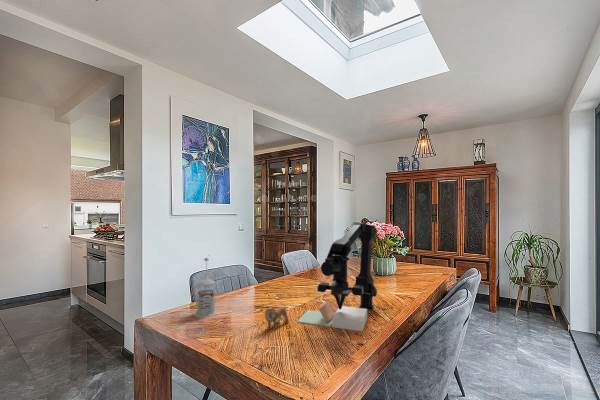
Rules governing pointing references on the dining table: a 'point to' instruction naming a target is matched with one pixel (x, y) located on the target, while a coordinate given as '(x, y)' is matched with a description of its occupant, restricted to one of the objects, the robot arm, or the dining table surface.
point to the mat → (314, 319)
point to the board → (350, 318)
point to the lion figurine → (275, 315)
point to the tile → (326, 311)
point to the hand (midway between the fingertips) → (340, 309)
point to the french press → (205, 299)
